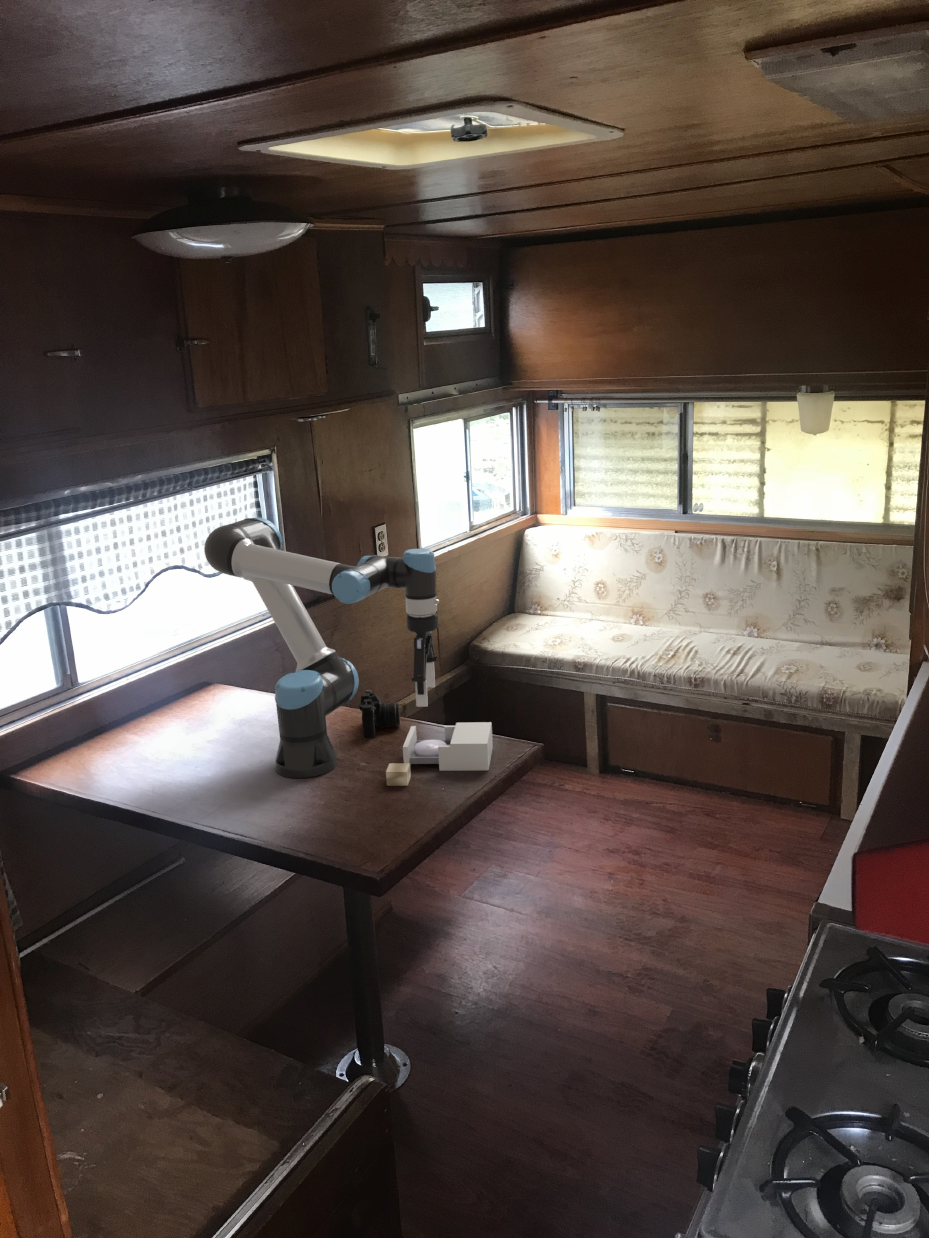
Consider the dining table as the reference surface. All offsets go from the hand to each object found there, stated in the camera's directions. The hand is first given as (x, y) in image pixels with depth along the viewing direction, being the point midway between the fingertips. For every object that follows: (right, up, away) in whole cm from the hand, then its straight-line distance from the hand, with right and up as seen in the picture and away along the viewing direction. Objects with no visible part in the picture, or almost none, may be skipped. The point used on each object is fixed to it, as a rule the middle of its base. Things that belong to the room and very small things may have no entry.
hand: (426, 696), depth 244 cm
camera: (-13, -11, +26) cm, 31 cm away
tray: (+1, -16, +4) cm, 16 cm away
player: (+10, -16, +3) cm, 19 cm away
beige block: (-6, -20, -8) cm, 22 cm away
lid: (+1, -14, +4) cm, 15 cm away
